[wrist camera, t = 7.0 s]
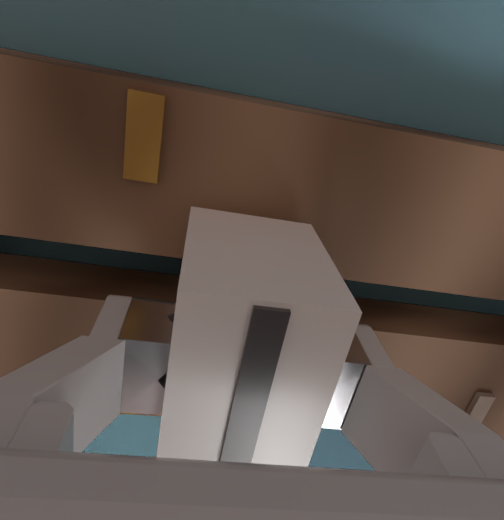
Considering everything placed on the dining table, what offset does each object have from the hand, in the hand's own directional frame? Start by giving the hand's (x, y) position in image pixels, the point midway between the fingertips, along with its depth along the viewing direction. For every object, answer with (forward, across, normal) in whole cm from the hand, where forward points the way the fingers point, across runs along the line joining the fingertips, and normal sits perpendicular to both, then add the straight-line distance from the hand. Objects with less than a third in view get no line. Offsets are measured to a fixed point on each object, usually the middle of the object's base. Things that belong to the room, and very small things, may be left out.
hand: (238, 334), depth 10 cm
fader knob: (+4, 0, 0) cm, 4 cm away
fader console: (+4, +3, 0) cm, 5 cm away
